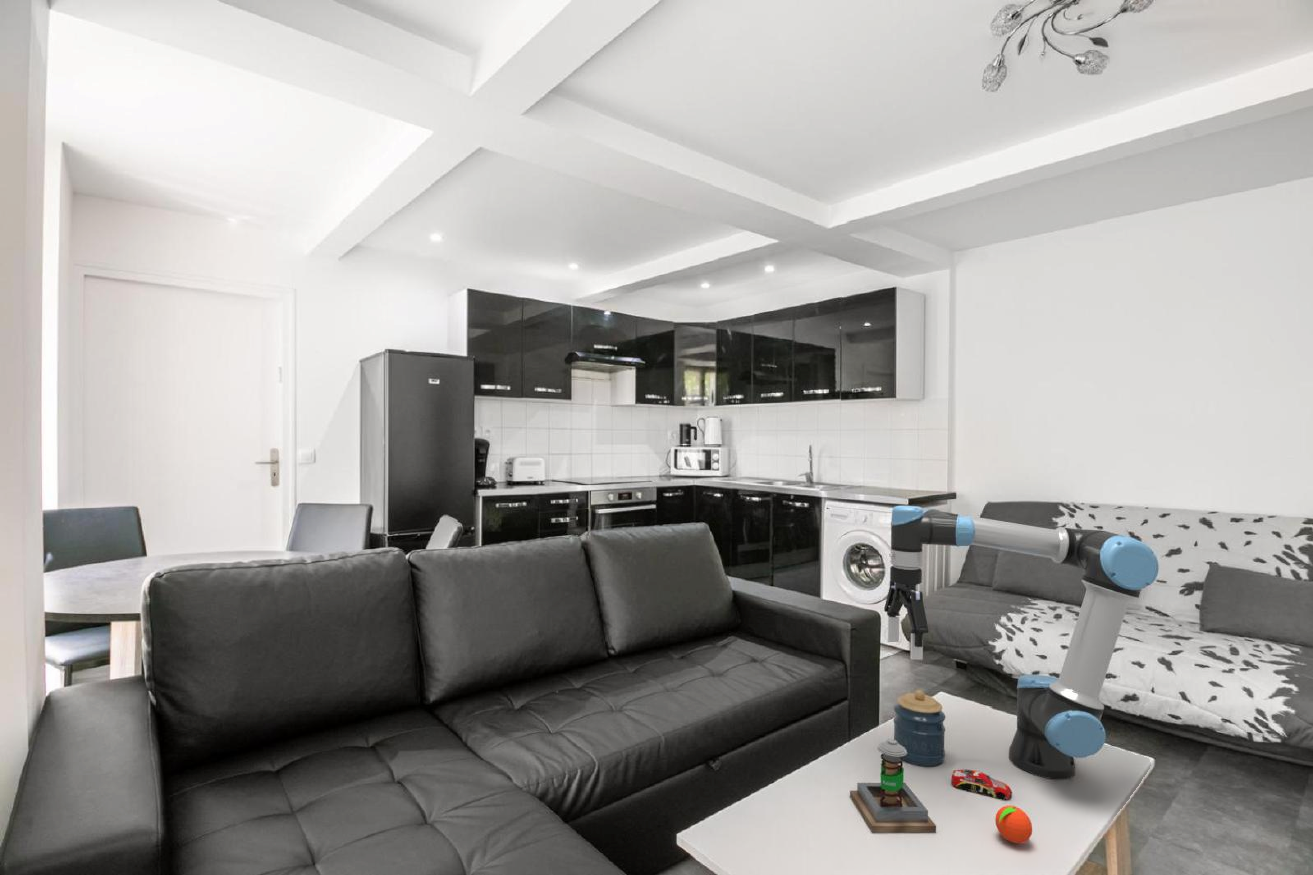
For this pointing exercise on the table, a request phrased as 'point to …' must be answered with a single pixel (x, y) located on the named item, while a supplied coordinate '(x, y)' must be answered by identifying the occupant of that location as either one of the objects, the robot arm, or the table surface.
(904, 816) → the socket collar
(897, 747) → the shock absorber
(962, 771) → the race car
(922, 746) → the canister
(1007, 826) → the clementine
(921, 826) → the plate
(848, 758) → the table surface
